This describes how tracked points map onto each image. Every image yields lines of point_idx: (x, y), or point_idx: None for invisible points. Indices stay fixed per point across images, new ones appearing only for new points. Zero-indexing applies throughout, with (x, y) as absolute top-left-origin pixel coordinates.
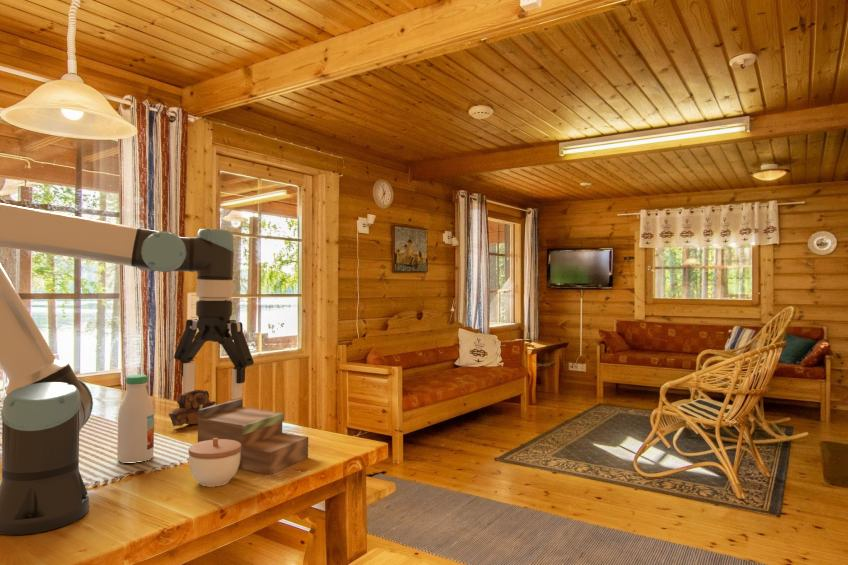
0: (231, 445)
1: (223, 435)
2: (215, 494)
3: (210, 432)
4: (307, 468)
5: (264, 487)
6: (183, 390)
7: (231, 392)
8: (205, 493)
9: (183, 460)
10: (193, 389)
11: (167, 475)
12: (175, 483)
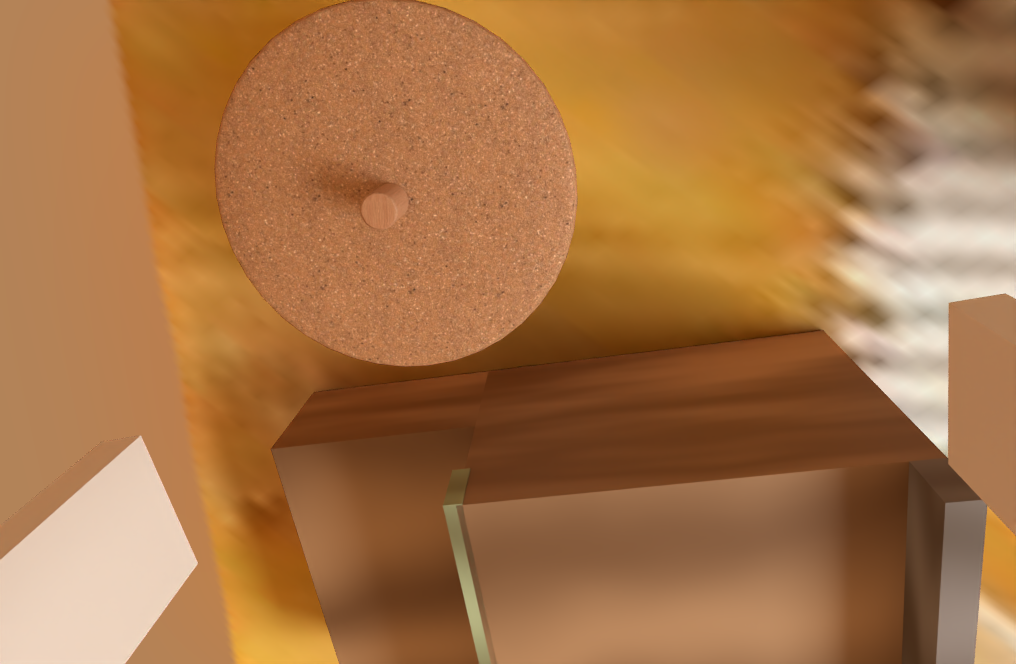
0: (305, 267)
1: (641, 433)
2: None
3: (767, 422)
4: (263, 538)
5: (187, 265)
6: (1008, 308)
7: (87, 482)
8: None
9: (882, 274)
10: (956, 460)
11: (744, 57)
12: (587, 7)
